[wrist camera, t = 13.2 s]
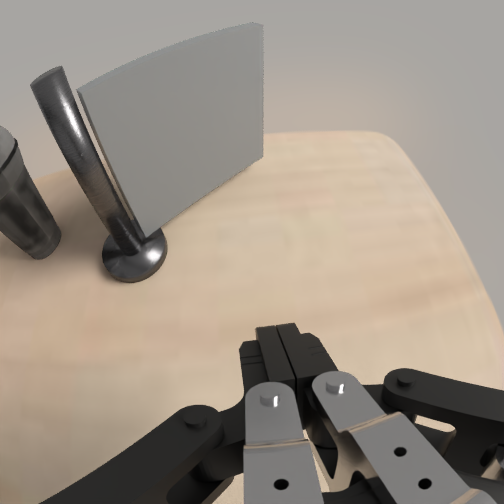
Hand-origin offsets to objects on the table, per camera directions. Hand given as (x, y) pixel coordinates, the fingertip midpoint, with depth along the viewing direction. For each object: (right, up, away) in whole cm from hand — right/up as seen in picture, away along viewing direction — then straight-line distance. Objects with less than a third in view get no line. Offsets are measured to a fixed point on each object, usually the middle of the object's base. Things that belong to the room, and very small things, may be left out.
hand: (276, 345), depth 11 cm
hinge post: (-11, +4, +14) cm, 18 cm away
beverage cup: (-23, +5, +15) cm, 28 cm away
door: (-6, +10, +16) cm, 20 cm away
